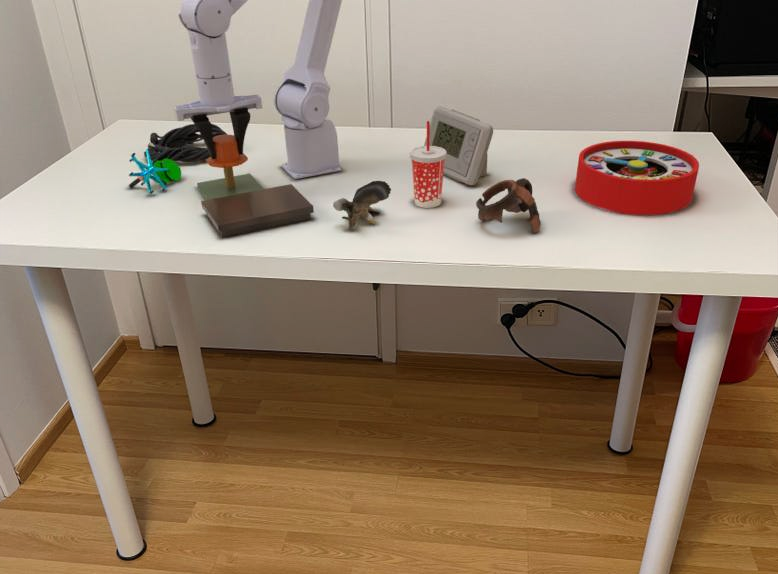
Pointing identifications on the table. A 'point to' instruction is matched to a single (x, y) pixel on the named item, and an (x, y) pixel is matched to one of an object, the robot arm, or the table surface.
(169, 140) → the cable
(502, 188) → the brown broken ring
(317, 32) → the robot arm
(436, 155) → the beverage cup
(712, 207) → the table surface
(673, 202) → the toy clock
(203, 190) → the stand
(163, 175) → the stick construction toy
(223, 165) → the hat
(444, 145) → the digital clock
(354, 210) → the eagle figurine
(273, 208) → the stand
